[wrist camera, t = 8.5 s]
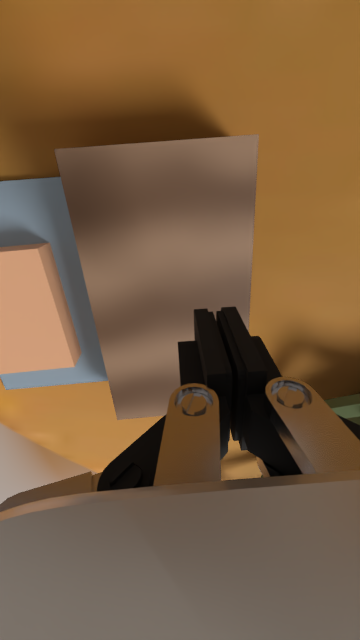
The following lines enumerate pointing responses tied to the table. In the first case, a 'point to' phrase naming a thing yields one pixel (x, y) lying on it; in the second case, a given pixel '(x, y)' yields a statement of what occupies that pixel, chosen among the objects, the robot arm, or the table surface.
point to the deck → (160, 250)
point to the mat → (55, 228)
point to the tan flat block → (34, 312)
